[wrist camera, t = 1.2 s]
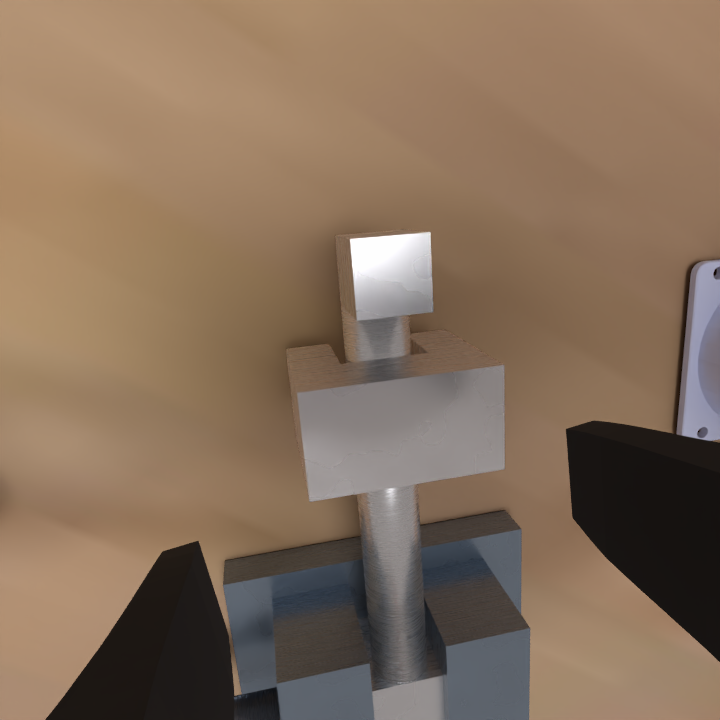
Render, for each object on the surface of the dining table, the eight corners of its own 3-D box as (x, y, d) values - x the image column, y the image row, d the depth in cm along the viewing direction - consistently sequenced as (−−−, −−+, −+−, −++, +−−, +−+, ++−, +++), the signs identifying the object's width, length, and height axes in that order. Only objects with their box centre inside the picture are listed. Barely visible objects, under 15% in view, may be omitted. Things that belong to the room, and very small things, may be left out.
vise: (504, 214, 20) (613, 215, 14) (505, 658, 26) (585, 797, 20) (60, 252, 18) (-39, 274, 12) (168, 735, 24) (139, 921, 17)
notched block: (445, 329, 18) (504, 364, 14) (448, 412, 19) (504, 469, 15) (285, 348, 18) (296, 392, 13) (295, 434, 18) (309, 502, 14)
